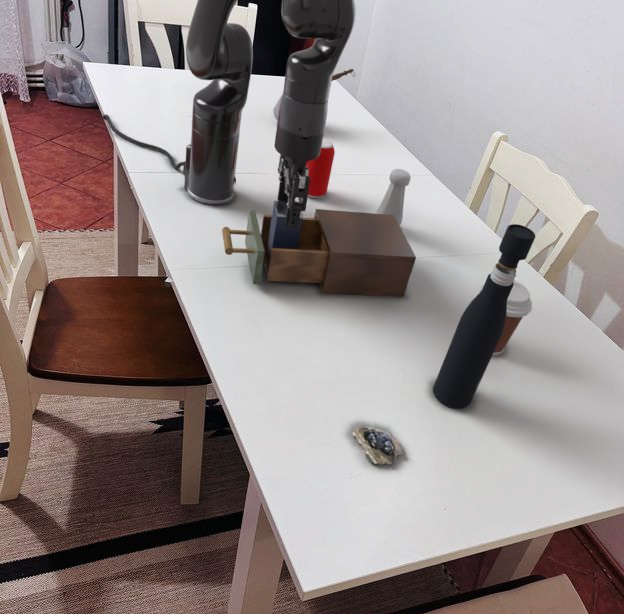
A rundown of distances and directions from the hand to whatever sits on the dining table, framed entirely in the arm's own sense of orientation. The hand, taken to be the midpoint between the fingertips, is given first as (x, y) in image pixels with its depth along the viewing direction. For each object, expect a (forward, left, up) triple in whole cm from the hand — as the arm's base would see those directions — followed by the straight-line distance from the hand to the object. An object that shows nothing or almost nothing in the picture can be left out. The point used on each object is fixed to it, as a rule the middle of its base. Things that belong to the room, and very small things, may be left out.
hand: (287, 214), depth 114 cm
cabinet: (+10, +11, -11) cm, 19 cm away
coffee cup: (+39, +10, -12) cm, 42 cm away
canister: (0, 0, -9) cm, 9 cm away
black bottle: (+40, -7, -12) cm, 42 cm away
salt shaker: (+6, +31, -12) cm, 34 cm away
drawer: (-1, 0, -10) cm, 10 cm away
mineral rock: (+36, -25, -12) cm, 45 cm away
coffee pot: (-36, +62, -12) cm, 73 cm away
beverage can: (-13, +30, -12) cm, 35 cm away
